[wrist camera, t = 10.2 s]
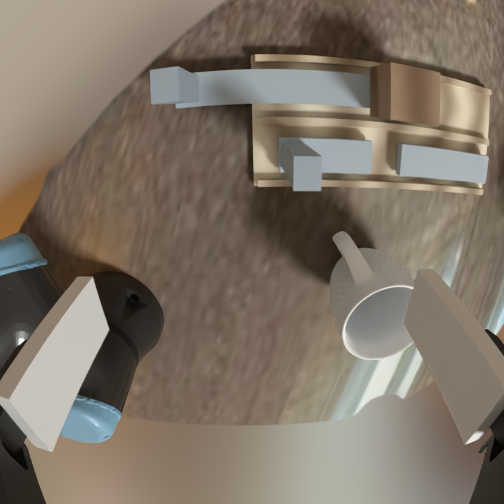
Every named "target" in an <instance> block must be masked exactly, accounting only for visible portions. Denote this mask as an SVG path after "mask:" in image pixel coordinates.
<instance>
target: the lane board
mask: <svg viewBox="0 0 504 504" xmlns="http://www.w3.org/2000/svg"><path fill="white" fill-rule="evenodd" d="M381 64H384V63H378V62H371V61H364V60H356V59H347V58H337V57H325V56H310V55H284V54H255V55H251V69H296V70H318V71H332V72H344V73H354V74H362V75H370V67H373V66H377V65H381ZM490 95H491V90H490V89H487V88H484V87H481V86H477V85H474V84H471V83H468V82H464V81H461V80H457V79H454V78H450V77H446V76H442V75H440V122H439V127H438V126H432V125H426V124H419V123H412V122H405V121H397V120H389V119H383V118H377V117H370V108H362V107H351V106H337V105H319V104H284V103H265V104H252V125H253V165H254V186H258V187H291V185H290V183H289V181H288V179H287V176H286V174H285V172H280V171H279V137H318V138H343V139H360V140H370V141H373V146H372V164H371V174H355V173H322V181H321V187H365V188H391V189H412V190H428V191H443V192H456V193H468V194H479V195H482V194H483V189H482V183H475V182H466V181H457V180H447V179H436V178H424V177H411V176H399V175H398V174H396V173H395V171H396V158H397V144H398V143H406V144H415V145H423V146H431V147H438V148H445V149H452V150H458V151H465V152H470V153H476V154H482V155H485V156H486V151H487V145H489V140H488V125H489V96H490Z"/></svg>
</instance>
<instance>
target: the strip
mask: <svg viewBox="0 0 504 504" xmlns="http://www.w3.org/2000/svg"><path fill="white" fill-rule="evenodd" d="M150 86H151V104H176V108H186V107H198V106H212V105H229V104H265V103H284V104H319V105H337V106H351V107H362V108H370V75H362V74H354V73H344V72H332V71H318V70H296V69H244V70H222V71H208V72H196V73H191V72H189V71H187V70H185V69H183V68H181V67H179V66H176V67H169V68H161V69H154V70H150Z"/></svg>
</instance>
